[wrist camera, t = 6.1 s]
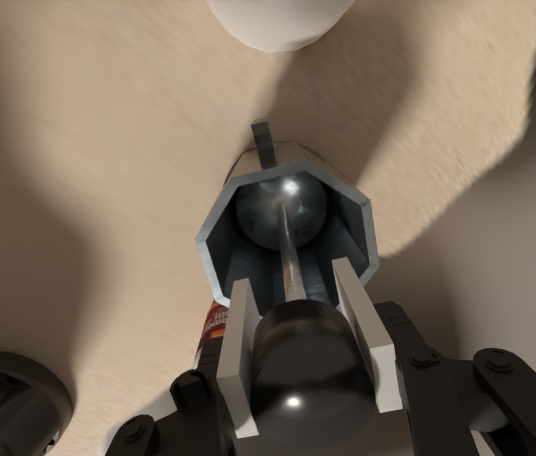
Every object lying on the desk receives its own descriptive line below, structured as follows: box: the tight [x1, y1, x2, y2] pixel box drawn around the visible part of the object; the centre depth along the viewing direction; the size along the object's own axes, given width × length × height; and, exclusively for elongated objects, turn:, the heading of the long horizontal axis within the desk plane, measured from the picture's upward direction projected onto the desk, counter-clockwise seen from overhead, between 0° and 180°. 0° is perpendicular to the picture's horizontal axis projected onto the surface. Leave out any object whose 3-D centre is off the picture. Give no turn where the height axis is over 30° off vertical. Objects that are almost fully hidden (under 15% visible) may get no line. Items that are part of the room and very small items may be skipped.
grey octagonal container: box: [195, 117, 379, 320], centre depth 27 cm, size 12×14×12 cm
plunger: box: [237, 171, 376, 450], centre depth 22 cm, size 8×8×23 cm
